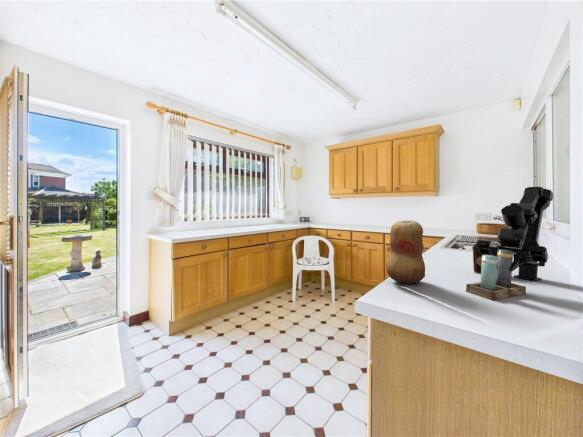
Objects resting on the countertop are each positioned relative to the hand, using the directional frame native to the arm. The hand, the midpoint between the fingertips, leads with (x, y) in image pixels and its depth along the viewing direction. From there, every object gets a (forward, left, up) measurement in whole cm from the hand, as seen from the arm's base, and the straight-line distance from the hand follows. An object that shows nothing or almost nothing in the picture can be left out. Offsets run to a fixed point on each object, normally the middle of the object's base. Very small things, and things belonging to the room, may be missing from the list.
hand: (502, 269), depth 85 cm
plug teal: (+7, 0, -8) cm, 10 cm away
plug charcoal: (-1, 0, -7) cm, 7 cm away
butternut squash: (+23, -20, -9) cm, 32 cm away
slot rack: (+3, 0, -9) cm, 9 cm away
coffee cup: (-22, -20, -9) cm, 32 cm away
